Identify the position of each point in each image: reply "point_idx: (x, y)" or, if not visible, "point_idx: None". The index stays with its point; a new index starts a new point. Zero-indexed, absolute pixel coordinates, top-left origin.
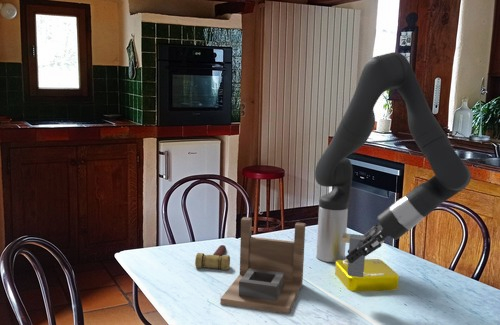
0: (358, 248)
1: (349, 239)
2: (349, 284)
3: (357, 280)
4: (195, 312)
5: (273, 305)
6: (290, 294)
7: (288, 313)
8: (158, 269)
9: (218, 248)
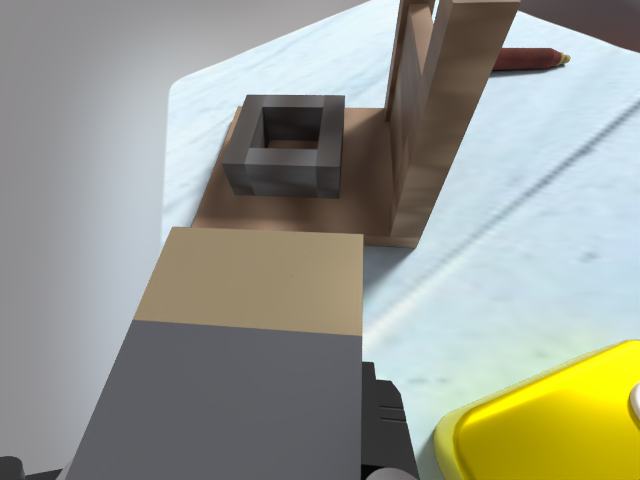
0: (7, 470)
1: (140, 321)
2: (446, 420)
3: (455, 466)
4: (200, 97)
5: (207, 193)
6: (286, 220)
7: None
8: (375, 24)
9: (519, 48)
